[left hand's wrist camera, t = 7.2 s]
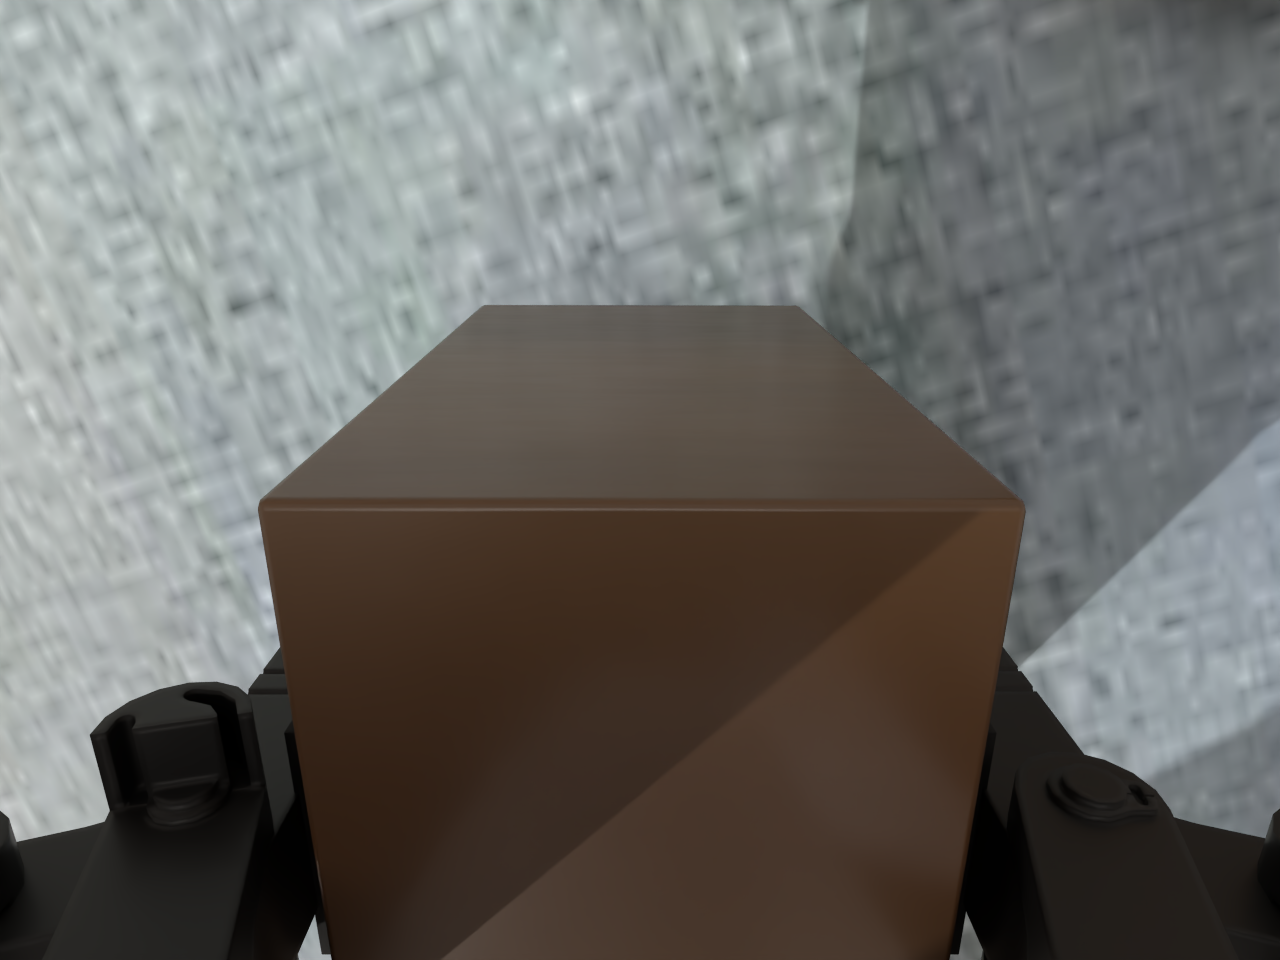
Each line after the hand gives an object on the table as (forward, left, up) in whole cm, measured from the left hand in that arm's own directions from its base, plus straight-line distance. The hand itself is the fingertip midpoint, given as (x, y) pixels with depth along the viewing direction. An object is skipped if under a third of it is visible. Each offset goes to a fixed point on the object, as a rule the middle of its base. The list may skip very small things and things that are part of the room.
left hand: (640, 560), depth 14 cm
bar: (-4, +7, -1) cm, 9 cm away
